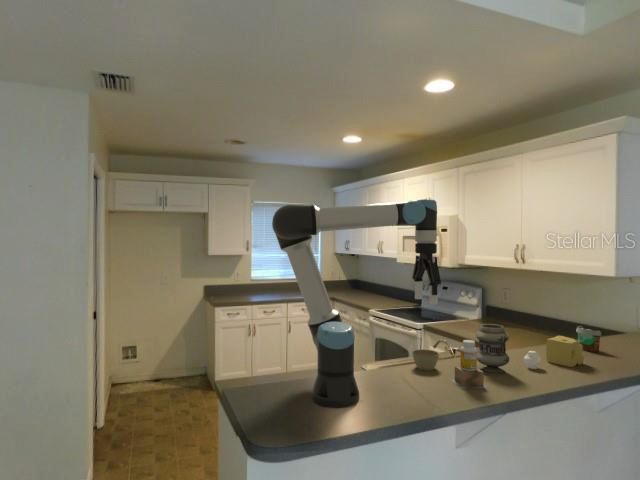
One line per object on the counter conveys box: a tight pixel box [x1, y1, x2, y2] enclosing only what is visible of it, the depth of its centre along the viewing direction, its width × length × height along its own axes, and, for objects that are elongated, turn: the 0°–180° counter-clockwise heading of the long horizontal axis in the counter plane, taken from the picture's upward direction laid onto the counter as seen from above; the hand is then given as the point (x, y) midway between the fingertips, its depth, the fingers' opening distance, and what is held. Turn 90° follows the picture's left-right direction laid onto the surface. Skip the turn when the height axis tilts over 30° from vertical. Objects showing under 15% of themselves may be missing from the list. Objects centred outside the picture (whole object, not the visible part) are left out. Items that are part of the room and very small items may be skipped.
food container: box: [575, 325, 602, 353], centre depth 198 cm, size 12×6×10 cm, turn 6°
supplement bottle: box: [460, 339, 478, 371], centre depth 147 cm, size 5×5×10 cm
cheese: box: [545, 335, 585, 368], centre depth 176 cm, size 10×11×10 cm
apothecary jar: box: [475, 323, 510, 373], centre depth 163 cm, size 12×12×18 cm
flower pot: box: [412, 348, 440, 371], centre depth 164 cm, size 10×10×7 cm
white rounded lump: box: [523, 350, 542, 370], centre depth 169 cm, size 6×6×7 cm
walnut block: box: [454, 365, 485, 387], centre depth 147 cm, size 7×7×5 cm
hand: (425, 301), depth 152 cm, fingers open, 13 cm apart
